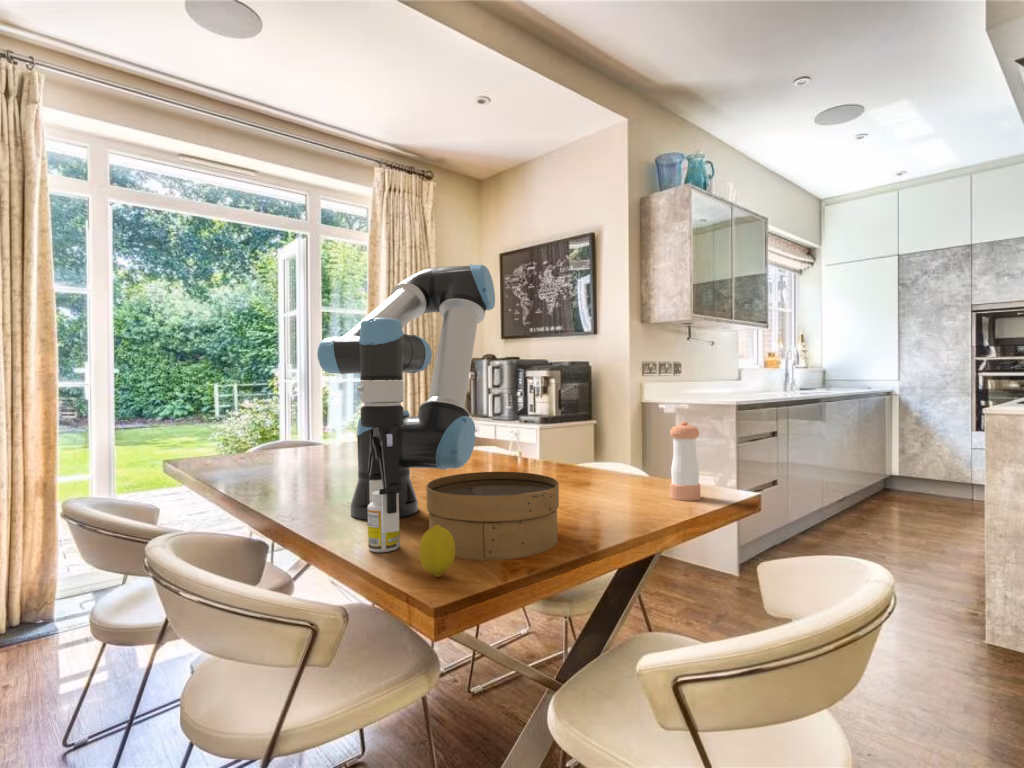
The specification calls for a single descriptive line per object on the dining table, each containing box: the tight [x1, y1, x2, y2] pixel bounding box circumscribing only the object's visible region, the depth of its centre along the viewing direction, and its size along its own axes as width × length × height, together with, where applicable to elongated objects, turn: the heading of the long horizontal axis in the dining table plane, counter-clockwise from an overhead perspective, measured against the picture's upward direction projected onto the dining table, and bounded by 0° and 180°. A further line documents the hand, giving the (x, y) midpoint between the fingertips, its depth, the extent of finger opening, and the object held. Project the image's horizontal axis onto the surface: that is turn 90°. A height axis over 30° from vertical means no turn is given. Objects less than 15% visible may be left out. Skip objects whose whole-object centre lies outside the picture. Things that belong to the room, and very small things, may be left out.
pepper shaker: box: [669, 421, 701, 501], centre depth 137 cm, size 7×7×19 cm
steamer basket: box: [426, 471, 560, 561], centre depth 103 cm, size 25×25×11 cm
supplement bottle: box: [367, 491, 401, 554], centre depth 98 cm, size 6×6×10 cm
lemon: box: [418, 525, 456, 578], centre depth 83 cm, size 6×6×8 cm
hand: (383, 522), depth 98 cm, fingers open, 13 cm apart
